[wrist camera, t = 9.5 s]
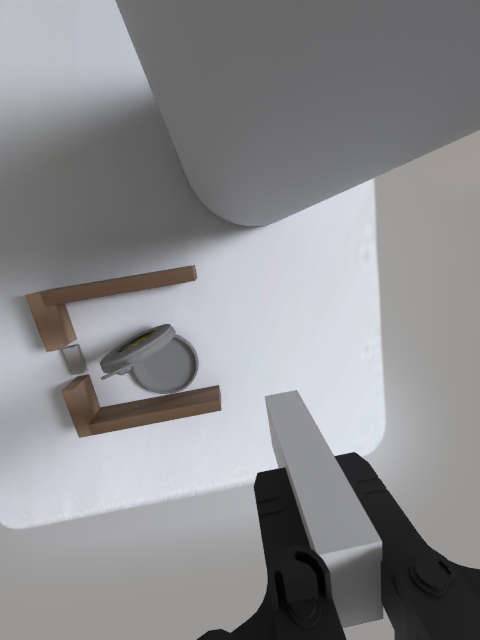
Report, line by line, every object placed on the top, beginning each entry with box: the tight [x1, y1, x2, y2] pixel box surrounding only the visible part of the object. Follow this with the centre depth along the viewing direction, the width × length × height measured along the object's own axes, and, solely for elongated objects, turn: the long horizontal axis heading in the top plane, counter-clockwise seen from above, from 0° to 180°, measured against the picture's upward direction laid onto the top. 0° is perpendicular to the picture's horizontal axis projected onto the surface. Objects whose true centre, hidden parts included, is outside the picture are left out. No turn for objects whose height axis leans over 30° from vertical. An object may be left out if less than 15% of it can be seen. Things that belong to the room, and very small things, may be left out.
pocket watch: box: [100, 324, 198, 394], centre depth 23 cm, size 8×8×10 cm
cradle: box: [25, 265, 221, 438], centre depth 26 cm, size 14×14×3 cm
